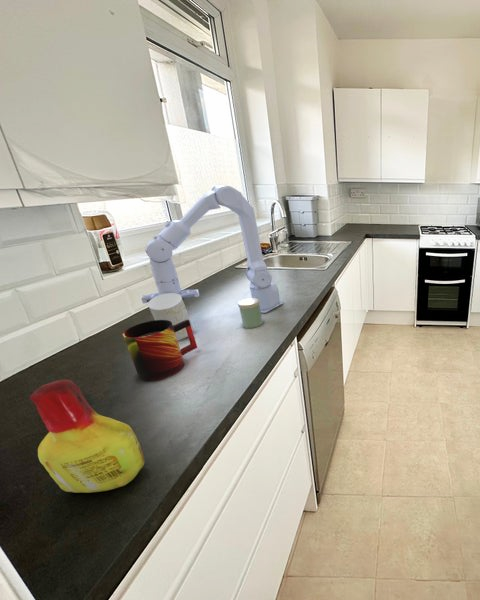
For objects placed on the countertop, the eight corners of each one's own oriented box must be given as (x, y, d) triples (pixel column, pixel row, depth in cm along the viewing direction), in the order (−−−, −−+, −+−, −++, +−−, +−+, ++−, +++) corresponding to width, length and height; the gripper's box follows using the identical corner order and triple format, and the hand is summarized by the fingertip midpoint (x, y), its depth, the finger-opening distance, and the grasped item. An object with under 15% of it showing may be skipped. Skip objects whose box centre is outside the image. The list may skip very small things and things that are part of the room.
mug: (199, 350, 89) (188, 312, 85) (171, 379, 76) (157, 336, 72) (163, 352, 88) (150, 313, 84) (129, 382, 76) (112, 339, 71)
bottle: (47, 507, 47) (-20, 402, 40) (79, 470, 53) (26, 373, 46) (135, 494, 49) (88, 391, 42) (157, 460, 55) (118, 364, 48)
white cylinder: (179, 343, 94) (165, 312, 87) (156, 337, 95) (140, 305, 88) (199, 326, 100) (188, 296, 93) (177, 321, 101) (164, 290, 94)
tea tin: (252, 318, 109) (248, 296, 106) (267, 321, 107) (263, 299, 104) (238, 326, 103) (233, 303, 100) (253, 329, 101) (248, 306, 98)
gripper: (133, 286, 89) (147, 329, 94) (192, 280, 95) (202, 321, 100) (140, 279, 95) (153, 319, 100) (195, 274, 101) (205, 312, 106)
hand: (178, 319), depth 100 cm, fingers closed, pressing on white cylinder
